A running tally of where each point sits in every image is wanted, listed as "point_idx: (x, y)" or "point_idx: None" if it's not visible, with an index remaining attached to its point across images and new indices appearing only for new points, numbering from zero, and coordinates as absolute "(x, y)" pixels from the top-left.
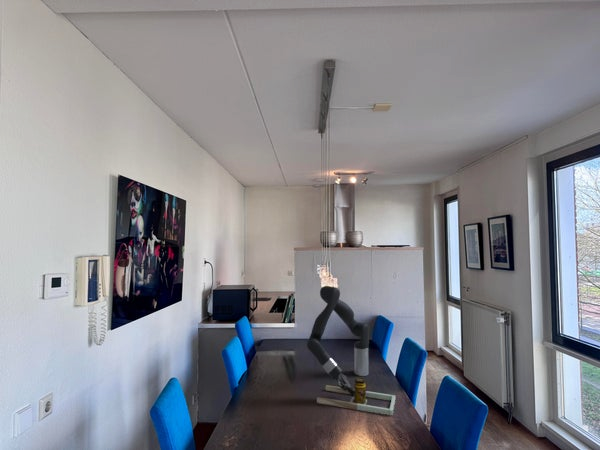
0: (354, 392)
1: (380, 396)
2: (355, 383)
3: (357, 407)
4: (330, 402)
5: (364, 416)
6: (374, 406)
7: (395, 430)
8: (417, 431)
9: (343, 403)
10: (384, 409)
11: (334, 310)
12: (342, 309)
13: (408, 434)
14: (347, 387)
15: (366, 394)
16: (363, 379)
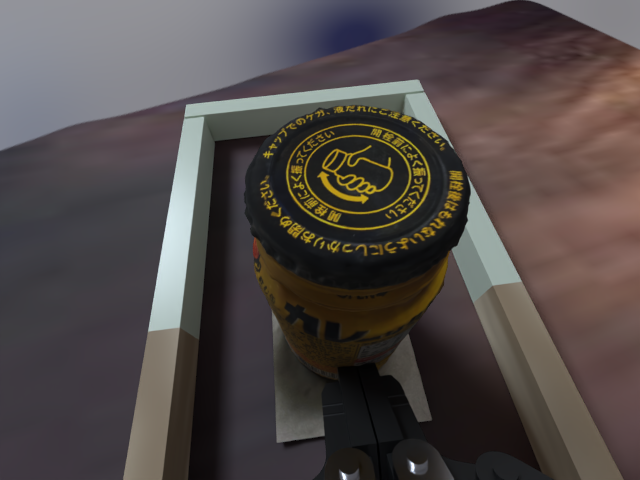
0: (366, 365)
1: (203, 189)
2: (427, 283)
3: None
4: None
5: (550, 220)
6: None
7: (545, 74)
8: (476, 28)
9: (601, 458)
10: (432, 110)
11: None
12: None
13: (529, 42)
14: (536, 471)
15: (194, 297)
16: (300, 125)
